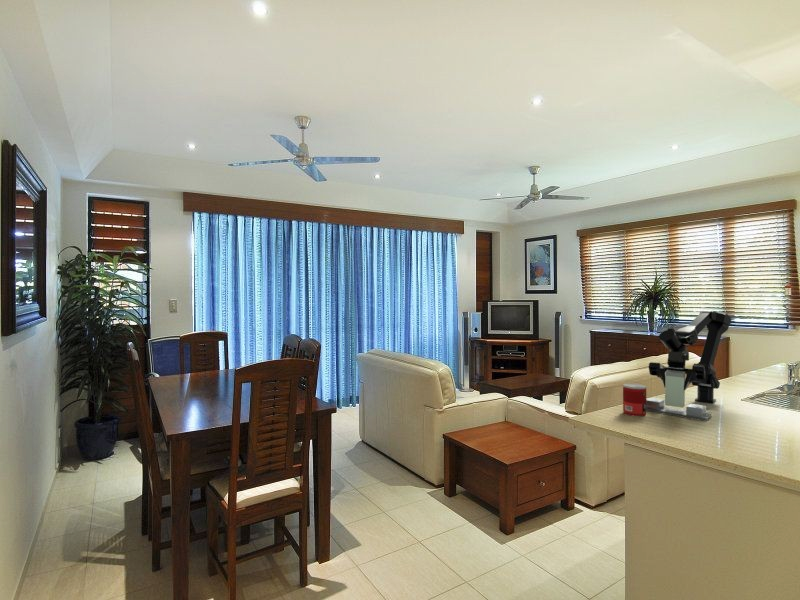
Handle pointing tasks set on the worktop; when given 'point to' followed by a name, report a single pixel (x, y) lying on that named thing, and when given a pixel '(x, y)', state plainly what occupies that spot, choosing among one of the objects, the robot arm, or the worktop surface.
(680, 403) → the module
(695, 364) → the robot arm
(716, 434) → the worktop surface
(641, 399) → the canned food
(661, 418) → the worktop surface
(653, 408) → the rail
